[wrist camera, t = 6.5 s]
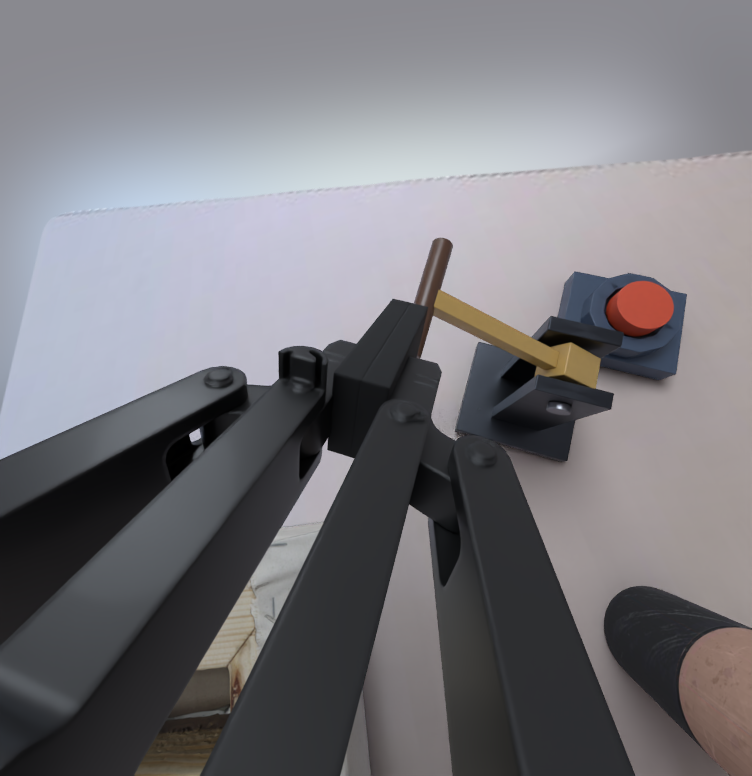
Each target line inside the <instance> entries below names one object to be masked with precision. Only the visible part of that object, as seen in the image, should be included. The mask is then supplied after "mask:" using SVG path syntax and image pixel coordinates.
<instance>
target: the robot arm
mask: <svg viewBox="0 0 752 776" xmlns="http://www.w3.org/2000/svg"><path fill="white" fill-rule="evenodd" d="M427 311H428V307H426V306H422V305H418V304H413V303H409V302H405V301H400V300H396V299H392V301H391V302H390V303H389V304H388V306H387V307H386V308H385V309H384V311H383V312H382V313H381V314H380V316H379V317H378V318H377V319H376V321H375V322H374V323H373V324H372V326H371V327H370V328H369V329H368V331H367V332H366V333H365V334H364V336H363V337H362V338H361V339H360V340H359V342H358V343H357V344H355V343H351V342H347V341H343V340H339V341H336V342H334V343H331V344H329V345H328V346H327V347H326V348H325V349H324V350H323V352H322V351H321V350H318V349H316V348H313V347H306V346H293V347H288V348H285V349H283V350H281V351H279V379H278V380H277V381H276V382H275V383H274V384H273V385H272V386H261V385H247V379H246V376H245V373H243V372H242V371H241V370H239V369H236V368H233V367H227V366H226V367H225V366H219V367H211V368H208V369H205V370H202V371H200V372H197V373H195V374H193V375H190V376H188V377H186V378H184V379H181V380H179V381H177V382H175V383H172V384H170V385H168V386H166V387H163V388H161V389H159V390H157V391H154V392H152V393H150V394H148V395H145V396H143V397H141V398H139V399H136V400H134V401H132V402H129V403H127V404H125V405H123V406H120V407H118V408H116V409H114V410H111V411H109V412H107V413H105V414H102V415H100V416H98V417H96V418H93V419H91V420H89V421H87V422H84V423H82V424H80V425H78V426H75V427H73V428H71V429H69V430H66V431H64V432H62V433H59V434H57V435H55V436H53V437H50V438H48V439H46V440H44V441H41V442H39V443H37V444H35V445H32V446H30V447H28V448H26V449H23V450H21V451H19V452H17V453H14V454H12V455H10V456H8V457H5V458H3V459H1V460H0V776H134V775H135V773H136V771H137V769H138V767H139V765H140V764H141V762H142V760H143V758H144V757H145V755H146V753H147V751H148V750H149V748H150V746H151V745H152V743H153V741H154V740H155V738H156V736H157V735H158V733H159V731H160V730H161V728H162V726H163V725H164V723H165V721H166V720H167V718H168V716H169V715H170V713H171V711H172V710H173V708H174V706H175V704H176V703H177V701H178V699H179V698H180V696H181V694H182V693H183V691H184V689H185V688H186V686H187V684H188V683H189V681H190V679H191V678H192V676H193V674H194V673H195V671H196V669H197V668H198V666H199V664H200V662H201V661H202V659H203V657H204V656H205V654H206V652H207V651H208V649H209V647H210V646H211V644H212V642H213V641H214V639H215V637H216V636H217V634H218V632H219V631H220V629H221V627H222V626H223V624H224V622H225V620H226V619H227V617H228V615H229V614H230V612H231V610H232V609H233V607H234V605H235V604H236V602H237V600H238V599H239V597H240V595H241V594H242V592H243V590H244V589H245V587H246V585H247V584H248V582H249V580H250V579H251V577H252V575H253V573H254V572H255V570H256V568H257V567H258V565H259V563H260V562H261V560H262V558H263V557H264V555H265V553H266V552H267V550H268V548H269V547H270V545H271V543H272V542H273V540H274V538H275V537H276V535H277V533H278V531H279V530H280V528H281V526H282V525H283V523H284V521H285V520H286V518H287V516H288V515H289V513H290V511H291V510H292V508H293V506H294V505H295V503H296V501H297V500H298V498H299V496H300V495H301V493H302V491H303V489H304V488H305V486H306V484H307V483H308V481H309V479H310V478H311V476H312V474H313V473H314V471H315V469H316V468H317V466H318V464H319V463H320V460H321V456H322V446H323V445H324V443H325V442H326V440H327V438H328V449H327V450H330V451H333V452H336V453H339V454H343V455H346V456H349V457H352V458H355V459H354V461H353V463H352V465H351V467H350V469H349V471H348V473H347V475H346V477H345V480H344V482H343V484H342V486H341V488H340V490H339V492H338V494H337V496H336V498H335V500H334V502H333V504H332V506H331V508H330V510H329V512H328V514H327V516H326V518H325V521H324V523H323V525H322V527H321V529H320V531H319V533H318V535H317V537H316V539H315V541H314V543H313V545H312V547H311V549H310V551H309V553H308V555H307V557H306V559H305V562H304V564H303V566H302V568H301V570H300V572H299V574H298V576H297V578H296V580H295V582H294V584H293V586H292V588H291V590H290V592H289V594H288V596H287V598H286V600H285V603H284V605H283V607H282V609H281V611H280V613H279V615H278V617H277V619H276V621H275V623H274V625H273V627H272V629H271V631H270V633H269V635H268V637H267V639H266V641H265V644H264V646H263V648H262V650H261V652H260V654H259V656H258V658H257V660H256V662H255V664H254V666H253V668H252V670H251V672H250V674H249V676H248V678H247V680H246V682H245V685H244V687H243V689H242V691H241V693H240V695H239V697H238V699H237V701H236V703H235V705H234V707H233V709H232V711H231V713H230V715H229V717H228V719H227V721H226V723H225V726H224V728H223V730H222V732H221V734H220V736H219V738H218V740H217V742H216V744H215V746H214V748H213V750H212V752H211V754H210V756H209V758H208V760H207V762H206V764H205V766H204V768H203V770H202V772H201V774H200V776H340V775H341V771H342V767H343V763H344V759H345V755H346V751H347V747H348V743H349V739H350V735H351V731H352V728H353V724H354V720H355V716H356V712H357V708H358V704H359V700H360V696H361V692H362V688H363V684H364V680H365V676H366V672H367V668H368V664H369V660H370V656H371V652H372V649H373V645H374V641H375V637H376V633H377V629H378V625H379V621H380V617H381V613H382V609H383V605H384V601H385V597H386V593H387V589H388V585H389V581H390V577H391V573H392V570H393V566H394V562H395V558H396V554H397V550H398V546H399V542H400V538H401V534H402V530H403V526H404V522H405V518H406V514H407V510H408V506H409V505H411V506H412V507H414V508H416V509H417V510H419V511H420V512H422V513H423V514H425V515H426V516H428V517H429V518H428V527H429V537H430V547H431V557H432V568H433V578H434V588H435V599H436V609H437V619H438V629H439V640H440V650H441V660H442V670H443V681H444V691H445V701H446V711H447V722H448V732H449V742H450V752H451V763H452V773H453V776H635V773H634V771H633V768H632V766H631V763H630V761H629V758H628V756H627V753H626V751H625V748H624V746H623V743H622V740H621V738H620V735H619V733H618V730H617V728H616V725H615V723H614V720H613V718H612V715H611V713H610V710H609V708H608V705H607V702H606V700H605V697H604V695H603V692H602V690H601V687H600V685H599V682H598V680H597V677H596V675H595V672H594V670H593V667H592V664H591V662H590V659H589V657H588V654H587V652H586V649H585V647H584V644H583V642H582V639H581V637H580V634H579V632H578V629H577V627H576V624H575V621H574V619H573V616H572V614H571V611H570V609H569V606H568V604H567V601H566V599H565V596H564V594H563V591H562V589H561V586H560V583H559V581H558V578H557V576H556V573H555V571H554V568H553V566H552V563H551V561H550V558H549V556H548V553H547V551H546V548H545V545H544V543H543V540H542V538H541V535H540V533H539V530H538V528H537V525H536V523H535V520H534V518H533V515H532V513H531V510H530V507H529V505H528V502H527V500H526V497H525V495H524V492H523V490H522V487H521V485H520V482H519V480H518V477H517V475H516V472H515V469H514V467H513V464H512V462H511V459H510V457H509V456H508V454H507V453H506V451H505V450H504V449H503V448H502V447H501V446H499V445H498V444H497V443H495V442H493V441H491V440H489V439H488V438H485V437H481V436H477V435H466V436H463V437H460V438H458V439H457V440H456V441H455V440H453V439H451V438H449V437H447V436H446V435H444V434H443V433H441V432H440V431H439V430H438V429H437V428H436V427H435V425H434V424H433V422H432V419H431V413H432V409H433V405H434V401H435V397H436V393H437V389H438V385H439V381H440V377H441V373H442V372H441V370H440V368H439V366H438V364H437V363H433V362H429V361H426V360H422V359H418V358H417V354H418V350H419V346H420V341H421V337H422V333H423V328H424V324H425V320H426V315H427ZM198 428H199V429H200V434H201V438H200V439H199V440H196V441H194V442H191V441H190V437H189V434H190V433H192V432H193V431H195V430H197V429H198Z"/></svg>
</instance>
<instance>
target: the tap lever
mask: <svg viewBox="0 0 752 776" xmlns="http://www.w3.org/2000/svg"><path fill="white" fill-rule="evenodd" d="M452 248H453V245H452V243H451V242H450V241H449V240H448V239H445V238H437V239H435V240H434V241H433V242H432V246H431V249H430V252H429V255H428V259H427V262H426V265H425V269H424V272H423V275H422V278H421V282H420V285H419V288H418V291H417V295H416V298H415V301H414V304H418V305H422V306H426V307H428V311H427V315H426V320H425V324H424V328H423V333H422V337H421V341H420V346H419V350H418V354H417V358H418V359H420V358H421V354H422V351H423V348H424V344H425V341H426V337H427V334H428V330H429V327H430V324H431V320H432V317H433V316H435V317H437V318H439V319H441V320H443V321H445V322H447V323H449V324H452V325H454V326H456V327H458V328H460V329H462V330H464V331H466V332H468V333H470V334H472V335H474V336H476V337H478V338H480V339H482V340H484V341H486V342H488V343H490V344H492V345H494V346H496V347H499V348H501V349H503V350H505V351H507V352H509V353H511V354H513V355H515V356H517V357H519V358H521V359H523V360H525V361H527V362H529V363H531V364H533V365H535V366H537V367H536V372H535V376H536V375H538V374H539V375H542V376H546V377H550V378H554V379H558V380H562V381H566V382H570V383H574V384H578V385H582V386H586V387H590V388H594V389H596V384H597V379H598V373H599V368H600V362H601V358H599V357H597V356H595V355H593V354H592V353H590V352H588V351H586V350H584V349H582V348H580V347H579V346H577V345H575V344H573V343H566V344H561V345H557V346H553V347H549V346H547V345H545V344H543V343H541V342H539V341H537V340H535V339H533V338H531V337H529V336H527V335H526V334H524V333H522V332H520V331H518V330H516V329H514V328H512V327H510V326H508V325H506V324H504V323H503V322H501V321H499V320H497V319H495V318H493V317H491V316H489V315H487V314H485V313H483V312H481V311H479V310H478V309H476V308H474V307H472V306H470V305H468V304H466V303H464V302H462V301H460V300H458V299H456V298H455V297H453V296H451V295H449V294H447V293H445V292H443V291H441V290H440V289H441V286H442V282H443V279H444V276H445V272H446V269H447V265H448V262H449V258H450V255H451V252H452ZM535 376H534V377H535Z"/></svg>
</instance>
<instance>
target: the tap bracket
mask: <svg viewBox="0 0 752 776" xmlns="http://www.w3.org/2000/svg"><path fill="white" fill-rule="evenodd" d="M623 335H624V333H623V332H620V331H616V330H611V329H607V328H602V327H598V326H593V325H589V324H584V323H580V322H576V321H571V320H567V319H562V318H558V317H553V316H550V317H549V318H548V320H547V321H546V322H545V323H544V324H543V325H542V326H541V327H540V328H539V329H538V331H537V332H536V333H535V334H534V335H533V336H532V337H531V338H533V339H535V340H537V341H539V342H541V343H543V344H545V345H547V346H549V347H553V346H557V345H561V344H566V343H573V344H575V345H577V346H579V347H580V348H582V349H584V350H586V351H588V352H590V353H592V354H593V355H595V356H597V357H599V358H603V357H604V356H606V355H608V354H609V353H611V352H613V351H615V350H616V349H618V348H620V347H621V346H622V341H623ZM536 367H537V366H535V365H533V364H531V363H529V362H527V361H525V360H523V359H521V358H519V357H517V356H515V355H513V354H511V353H509V352H507V351H505V350H503V349H501V348H499V347H496V346H493V345H489V344H485V343H481V342H479V343H478V345H477V347H476V350H475V354H474V358H473V362H472V366H471V370H470V374H469V377H468V381H467V385H466V389H465V393H464V397H463V400H462V404H461V408H460V412H459V416H458V420H457V424H456V427H455V431H457V432H460V433H464V434H467V435H477V436H481V437H485V438H488V439H489V440H491V441H493V442H495V443H498V444H502V445H505V446H509V447H512V448H515V449H519V450H522V451H526V452H529V453H533V454H536V455H540V456H543V457H547V458H550V459H554V460H557V461H561V462H565V461H567V460H568V455H569V450H570V444H571V439H572V434H573V429H574V423H575V420H577V419H580V418H583V417H587V416H590V415H593V414H597V413H600V412H603V411H607V410H610V409H611V407H612V401H613V395H614V394H613V393H610V392H606V391H602V390H598V389H594V388H590V387H586V386H582V385H578V384H574V383H570V382H566V381H562V380H558V379H554V378H550V377H546V376H542V375H539V374H538V375H536V376H535V372H536ZM534 376H535V377H534Z"/></svg>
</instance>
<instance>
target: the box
mask: <svg viewBox="0 0 752 776" xmlns="http://www.w3.org/2000/svg"><path fill="white" fill-rule="evenodd" d="M323 523H324V522H319V523H312V524H305V525H298V526H291V527H283V528H280V530H279V531H278V533H277V535H276V537H275V538H274V540H273V542H272V543H271V545H270V547H269V548H268V550H267V552H266V553H265V555H264V557H263V558H262V560H261V562H260V563H259V565H258V567H257V568H256V570H255V572H254V573H253V575H252V577H251V579H250V580H249V582H248V584H247V585H246V587H245V589H244V590H243V592H242V594H241V595H240V597H239V599H238V600H237V602H236V604H235V605H234V607H233V609H232V610H231V612H230V614H229V615H228V617H227V619H226V620H225V622H224V624H223V626H222V627H221V629H220V631H219V632H218V634H217V636H216V637H215V639H214V641H213V642H212V644H211V646H210V647H209V649H208V651H207V652H206V654H205V656H204V657H203V659H202V661H201V662H200V664H199V666H198V668H197V669H196V671H195V673H194V674H193V676H192V678H191V679H190V681H189V683H188V684H187V686H186V688H185V689H184V691H183V693H182V694H181V696H180V698H179V699H178V701H177V703H176V704H175V706H174V708H173V710H172V711H171V713H170V715H169V716H168V718H167V720H166V721H165V723H164V725H163V726H162V728H161V730H160V731H159V733H158V735H157V736H156V738H155V740H154V741H153V743H152V745H151V746H150V748H149V750H148V751H147V753H146V755H145V757H144V758H143V760H142V762H141V764H140V765H139V767H138V769H137V771H136V773H135V775H134V776H200V774H201V772H202V770H203V768H204V766H205V764H206V762H207V760H208V758H209V756H210V754H211V752H212V750H213V748H214V746H215V744H216V742H217V740H218V738H219V736H220V734H221V732H222V730H223V728H224V726H225V723H226V721H227V719H228V717H229V715H230V713H231V711H232V709H233V707H234V705H235V703H236V701H237V699H238V697H239V695H240V693H241V691H242V689H243V687H244V685H245V682H246V680H247V678H248V676H249V674H250V672H251V670H252V668H253V666H254V664H255V662H256V660H257V658H258V656H259V654H260V652H261V650H262V648H263V646H264V644H265V641H266V639H267V637H268V635H269V633H270V631H271V629H272V627H273V625H274V623H275V621H276V619H277V617H278V615H279V613H280V611H281V609H282V607H283V605H284V603H285V600H286V598H287V596H288V594H289V592H290V590H291V588H292V586H293V584H294V582H295V580H296V578H297V576H298V574H299V572H300V570H301V568H302V566H303V564H304V562H305V559H306V557H307V555H308V553H309V551H310V549H311V547H312V545H313V543H314V541H315V539H316V537H317V535H318V533H319V531H320V529H321V527H322V525H323ZM340 776H371V770H370V759H369V749H368V739H367V729H366V718H365V709H364V699H363V689H362V692H361V696H360V700H359V704H358V708H357V712H356V716H355V720H354V724H353V728H352V731H351V735H350V739H349V743H348V747H347V751H346V755H345V759H344V763H343V767H342V771H341V775H340Z"/></svg>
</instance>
